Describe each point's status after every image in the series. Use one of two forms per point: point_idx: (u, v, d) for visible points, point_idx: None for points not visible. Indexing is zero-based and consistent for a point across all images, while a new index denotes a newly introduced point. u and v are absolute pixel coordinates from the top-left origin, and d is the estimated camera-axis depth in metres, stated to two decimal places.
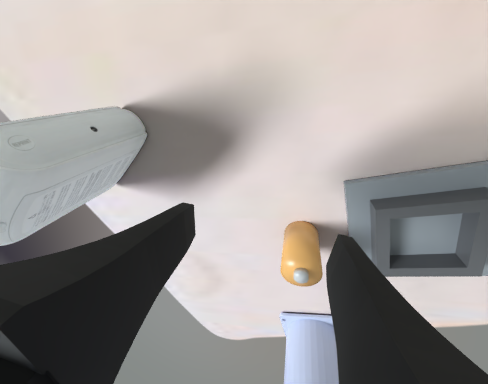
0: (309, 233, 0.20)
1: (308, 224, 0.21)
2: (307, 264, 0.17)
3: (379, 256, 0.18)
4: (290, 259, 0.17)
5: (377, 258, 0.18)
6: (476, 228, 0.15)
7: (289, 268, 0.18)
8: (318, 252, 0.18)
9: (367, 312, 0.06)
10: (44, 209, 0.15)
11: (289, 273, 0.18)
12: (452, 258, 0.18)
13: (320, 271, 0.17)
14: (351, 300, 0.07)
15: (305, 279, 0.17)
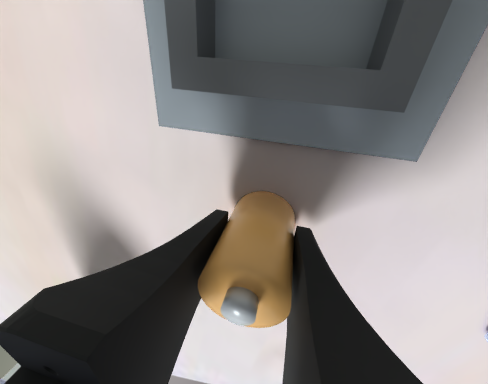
0: (233, 214, 0.10)
1: (239, 201, 0.11)
2: (217, 278, 0.07)
3: (316, 95, 0.06)
4: (202, 296, 0.08)
5: (324, 101, 0.06)
6: None
7: None
8: (241, 230, 0.08)
9: (302, 295, 0.06)
10: None
11: None
12: None
13: (242, 267, 0.07)
14: (297, 286, 0.07)
15: (241, 309, 0.07)
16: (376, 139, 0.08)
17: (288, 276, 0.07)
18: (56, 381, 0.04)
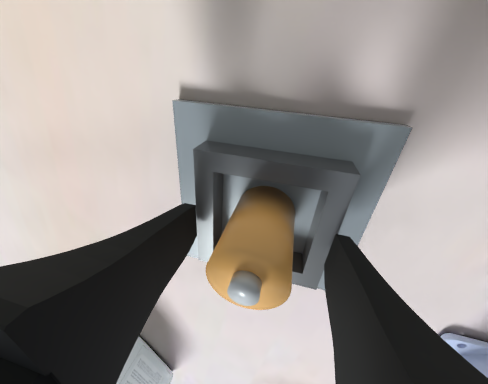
0: (237, 207, 0.11)
1: (242, 195, 0.12)
2: (224, 263, 0.08)
3: None
4: (210, 281, 0.09)
5: None
6: (242, 176, 0.10)
7: None
8: (246, 220, 0.09)
9: (363, 311, 0.06)
10: None
11: None
12: (323, 190, 0.10)
13: (247, 251, 0.07)
14: (347, 299, 0.07)
15: (247, 290, 0.07)
16: None
17: (289, 261, 0.08)
18: None
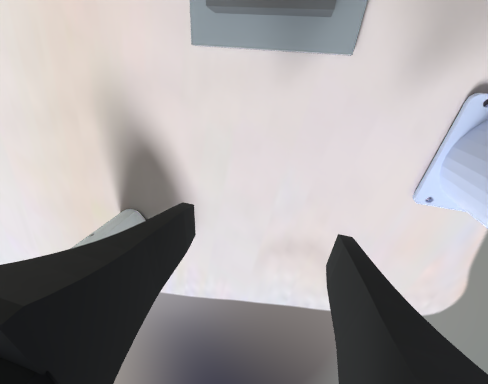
0: None
1: None
2: None
3: (288, 3, 0.12)
4: None
5: (292, 6, 0.12)
6: None
7: None
8: None
9: (367, 312, 0.06)
10: None
11: None
12: None
13: None
14: (351, 299, 0.07)
15: None
16: (327, 40, 0.13)
17: None
18: None
